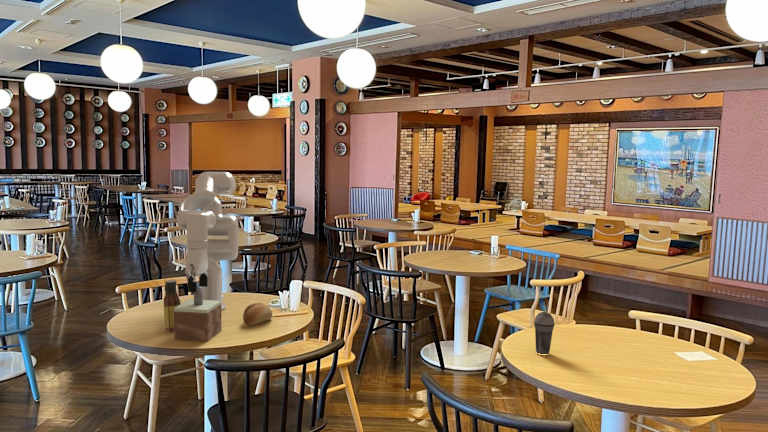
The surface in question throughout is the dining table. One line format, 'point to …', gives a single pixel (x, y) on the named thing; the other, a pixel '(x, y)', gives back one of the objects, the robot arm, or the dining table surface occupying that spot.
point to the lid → (197, 304)
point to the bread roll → (256, 314)
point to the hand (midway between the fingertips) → (197, 289)
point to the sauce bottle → (170, 304)
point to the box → (197, 325)
